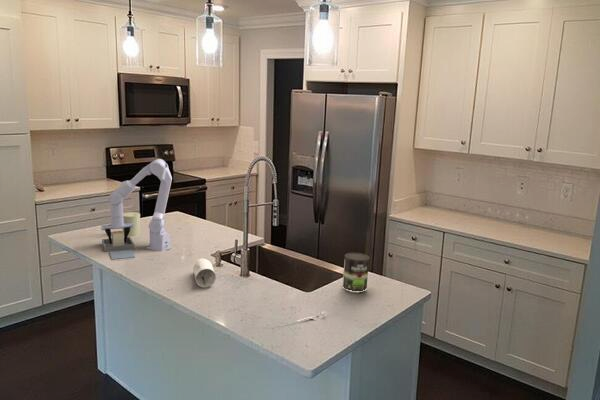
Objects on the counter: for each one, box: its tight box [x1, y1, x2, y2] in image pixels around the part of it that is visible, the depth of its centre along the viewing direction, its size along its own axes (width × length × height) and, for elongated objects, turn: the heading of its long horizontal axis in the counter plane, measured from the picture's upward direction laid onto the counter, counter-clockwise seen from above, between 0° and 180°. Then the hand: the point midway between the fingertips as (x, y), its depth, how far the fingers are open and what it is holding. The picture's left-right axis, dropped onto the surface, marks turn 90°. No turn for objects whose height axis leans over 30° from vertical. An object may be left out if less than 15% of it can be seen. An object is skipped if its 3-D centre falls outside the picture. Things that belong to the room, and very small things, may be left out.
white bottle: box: [193, 257, 217, 288], centre depth 199 cm, size 8×19×8 cm, turn 17°
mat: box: [108, 250, 136, 262], centre depth 221 cm, size 10×10×1 cm
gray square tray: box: [101, 237, 136, 253], centre depth 233 cm, size 13×13×3 cm
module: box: [111, 230, 124, 246], centre depth 232 cm, size 5×5×7 cm
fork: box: [296, 310, 329, 321], centre depth 167 cm, size 3×20×2 cm, turn 121°
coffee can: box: [342, 252, 370, 291], centre depth 197 cm, size 10×10×14 cm
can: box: [122, 211, 141, 237], centre depth 253 cm, size 9×9×12 cm
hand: (117, 243), depth 233 cm, fingers open, 6 cm apart
